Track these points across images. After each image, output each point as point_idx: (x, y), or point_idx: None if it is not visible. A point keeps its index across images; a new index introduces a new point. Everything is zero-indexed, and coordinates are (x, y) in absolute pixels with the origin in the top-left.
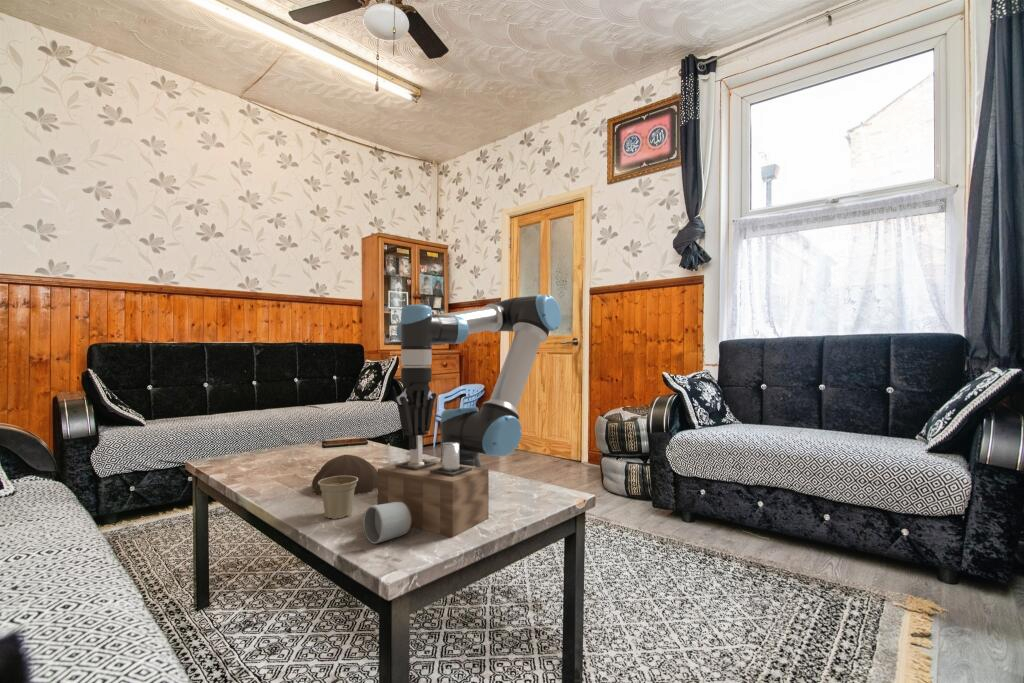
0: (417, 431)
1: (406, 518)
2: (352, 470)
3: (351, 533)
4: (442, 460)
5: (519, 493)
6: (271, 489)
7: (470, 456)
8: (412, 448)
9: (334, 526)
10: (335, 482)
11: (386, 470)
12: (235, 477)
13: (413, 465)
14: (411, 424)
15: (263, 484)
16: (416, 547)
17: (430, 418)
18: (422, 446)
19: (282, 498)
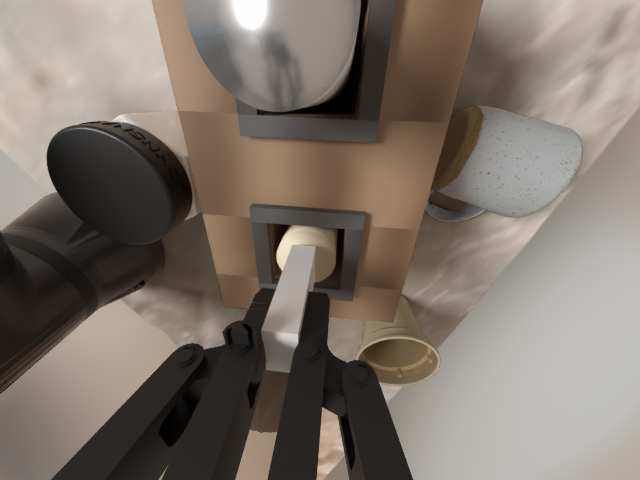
0: (297, 366)
1: (496, 109)
2: (276, 387)
3: (463, 235)
4: (332, 94)
5: (16, 40)
6: (334, 420)
7: (55, 167)
8: (327, 301)
9: (437, 280)
10: (373, 367)
11: (400, 295)
12: (320, 459)
13: (333, 251)
14: (362, 444)
15: (324, 433)
16: (519, 38)
17: (101, 440)
18: (264, 290)
19: None
